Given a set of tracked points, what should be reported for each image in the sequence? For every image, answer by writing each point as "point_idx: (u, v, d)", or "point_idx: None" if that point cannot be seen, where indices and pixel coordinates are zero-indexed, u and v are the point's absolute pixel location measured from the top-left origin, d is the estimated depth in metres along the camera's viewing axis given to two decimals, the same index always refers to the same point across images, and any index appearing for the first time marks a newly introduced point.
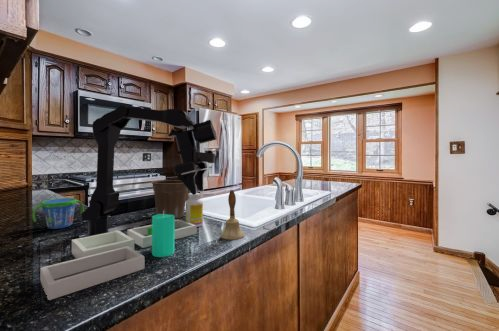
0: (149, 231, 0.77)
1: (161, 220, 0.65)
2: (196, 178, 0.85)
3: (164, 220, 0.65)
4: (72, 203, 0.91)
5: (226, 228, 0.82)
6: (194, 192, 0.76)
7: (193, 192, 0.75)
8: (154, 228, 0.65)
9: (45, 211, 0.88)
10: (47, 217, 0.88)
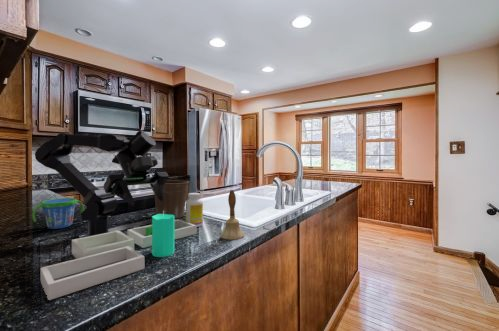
0: (147, 231, 0.77)
1: (161, 220, 0.65)
2: (156, 191, 0.78)
3: (164, 220, 0.65)
4: (72, 203, 0.91)
5: (226, 228, 0.82)
6: (132, 202, 0.69)
7: (131, 203, 0.69)
8: (154, 228, 0.65)
9: (45, 211, 0.88)
10: (47, 217, 0.88)
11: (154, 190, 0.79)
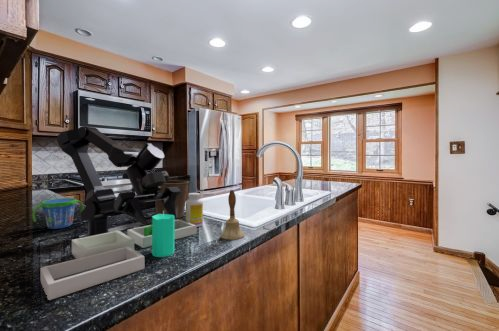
0: (145, 231, 0.77)
1: (161, 220, 0.65)
2: (168, 207, 0.75)
3: (164, 220, 0.65)
4: (72, 203, 0.91)
5: (226, 228, 0.82)
6: (144, 222, 0.65)
7: (143, 222, 0.65)
8: (154, 228, 0.65)
9: (45, 211, 0.88)
10: (47, 217, 0.88)
11: (166, 206, 0.76)
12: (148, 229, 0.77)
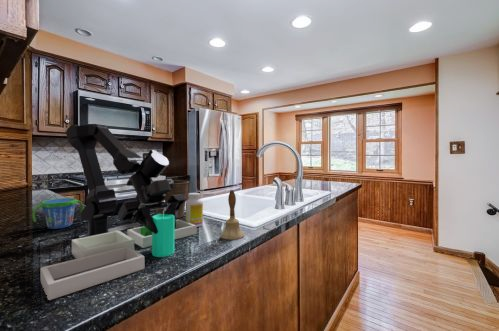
0: (142, 231, 0.77)
1: (161, 220, 0.65)
2: None
3: (164, 220, 0.65)
4: (72, 203, 0.91)
5: (226, 228, 0.82)
6: (155, 231, 0.65)
7: (154, 231, 0.65)
8: None
9: (45, 211, 0.88)
10: (47, 217, 0.88)
11: None
12: (145, 229, 0.77)
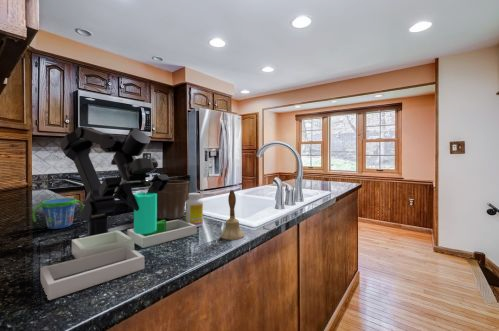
0: None
1: (143, 197, 0.65)
2: None
3: (146, 197, 0.65)
4: (72, 203, 0.91)
5: (226, 228, 0.82)
6: (136, 207, 0.65)
7: (135, 208, 0.65)
8: None
9: (45, 211, 0.88)
10: (47, 217, 0.88)
11: None
12: None
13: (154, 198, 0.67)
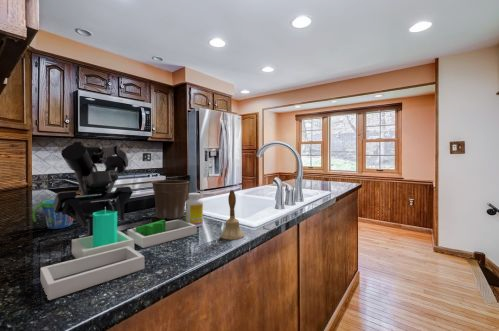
0: (137, 230, 0.77)
1: (100, 216, 0.64)
2: (117, 208, 0.71)
3: (103, 216, 0.64)
4: None
5: (226, 228, 0.82)
6: (84, 224, 0.62)
7: (83, 224, 0.62)
8: (93, 224, 0.65)
9: (45, 211, 0.88)
10: (47, 217, 0.88)
11: (115, 207, 0.72)
12: (140, 229, 0.78)
13: (113, 217, 0.66)
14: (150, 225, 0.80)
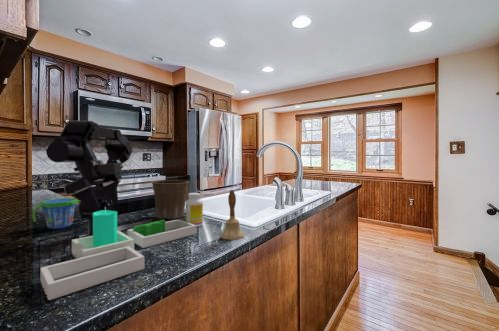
0: (134, 230, 0.78)
1: (100, 216, 0.64)
2: (108, 192, 0.79)
3: (103, 216, 0.64)
4: (72, 203, 0.91)
5: (226, 228, 0.82)
6: (97, 209, 0.69)
7: (96, 209, 0.69)
8: (93, 224, 0.65)
9: (45, 211, 0.88)
10: (47, 217, 0.88)
11: (105, 190, 0.79)
12: (137, 228, 0.78)
13: (113, 217, 0.66)
14: (148, 225, 0.80)
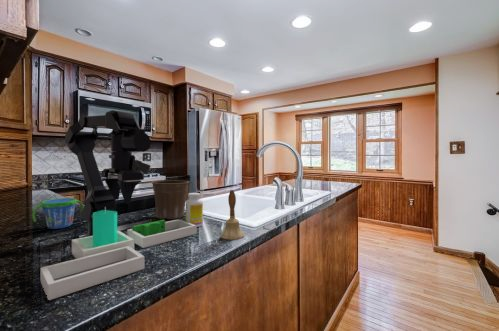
0: (133, 229, 0.78)
1: (100, 216, 0.64)
2: (113, 185, 0.78)
3: (103, 216, 0.64)
4: (72, 203, 0.91)
5: (226, 228, 0.82)
6: (128, 201, 0.72)
7: (127, 201, 0.72)
8: (93, 224, 0.65)
9: (45, 211, 0.88)
10: (47, 217, 0.88)
11: (110, 183, 0.77)
12: (136, 228, 0.79)
13: (113, 217, 0.66)
14: (147, 225, 0.80)
